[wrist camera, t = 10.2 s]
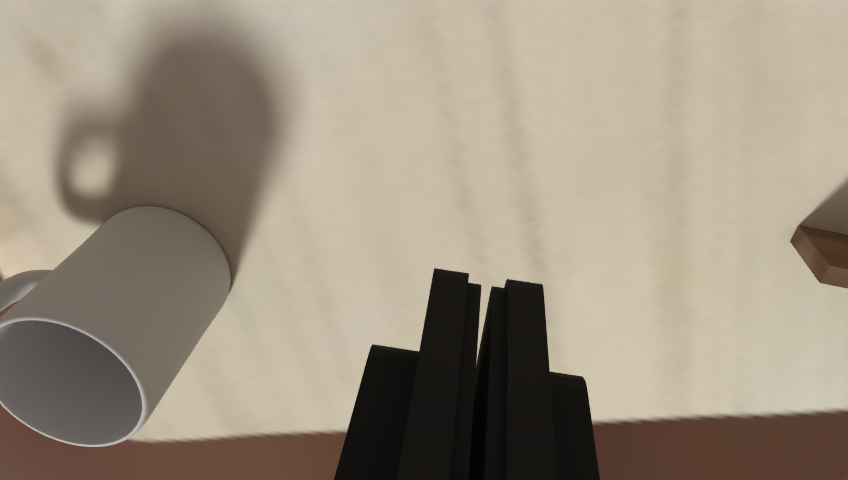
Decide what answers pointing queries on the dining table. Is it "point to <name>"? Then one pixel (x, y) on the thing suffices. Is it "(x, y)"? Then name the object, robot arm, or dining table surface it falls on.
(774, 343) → the dining table surface
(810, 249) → the box
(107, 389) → the mug
